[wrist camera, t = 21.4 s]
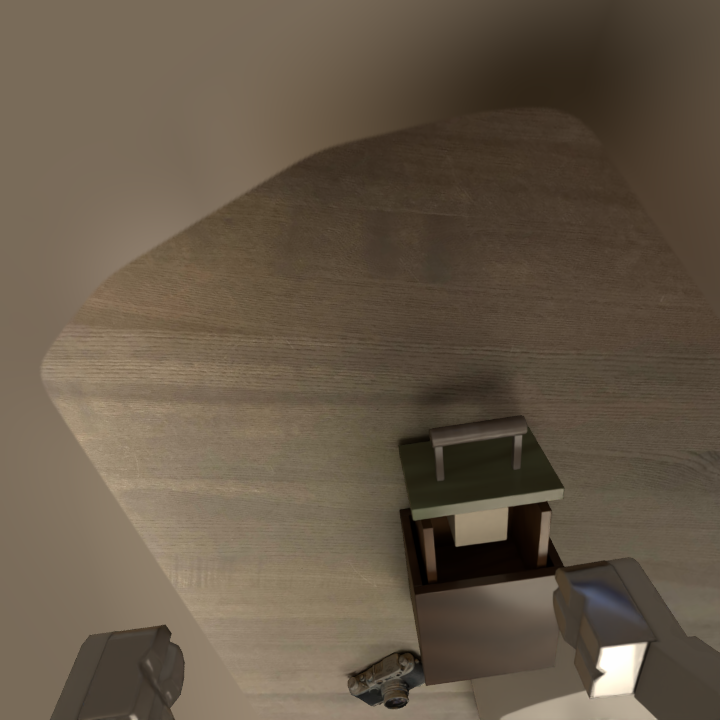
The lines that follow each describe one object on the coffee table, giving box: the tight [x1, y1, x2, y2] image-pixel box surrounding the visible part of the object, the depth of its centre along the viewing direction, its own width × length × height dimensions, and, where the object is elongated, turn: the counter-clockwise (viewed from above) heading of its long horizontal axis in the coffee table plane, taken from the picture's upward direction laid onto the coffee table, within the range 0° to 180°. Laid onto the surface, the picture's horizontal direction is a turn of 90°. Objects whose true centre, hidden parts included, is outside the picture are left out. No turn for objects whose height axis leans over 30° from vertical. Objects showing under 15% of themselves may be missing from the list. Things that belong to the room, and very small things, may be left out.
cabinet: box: [400, 509, 564, 686], centre depth 47 cm, size 15×13×9 cm
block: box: [447, 507, 508, 547], centre depth 42 cm, size 4×4×4 cm
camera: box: [348, 653, 425, 709], centre depth 60 cm, size 5×10×4 cm, turn 126°
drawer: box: [399, 415, 564, 585], centre depth 41 cm, size 18×11×7 cm, turn 8°
